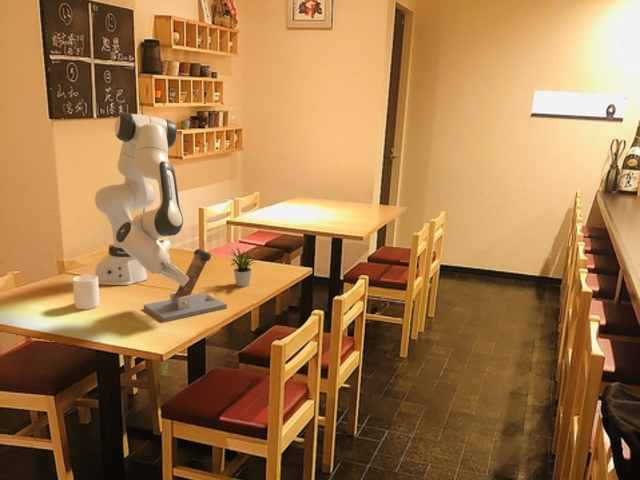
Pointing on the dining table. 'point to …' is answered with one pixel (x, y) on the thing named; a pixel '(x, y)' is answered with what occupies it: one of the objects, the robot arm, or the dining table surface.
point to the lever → (193, 272)
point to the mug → (86, 292)
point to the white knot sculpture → (164, 245)
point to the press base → (184, 306)
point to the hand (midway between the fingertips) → (183, 284)
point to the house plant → (242, 268)
